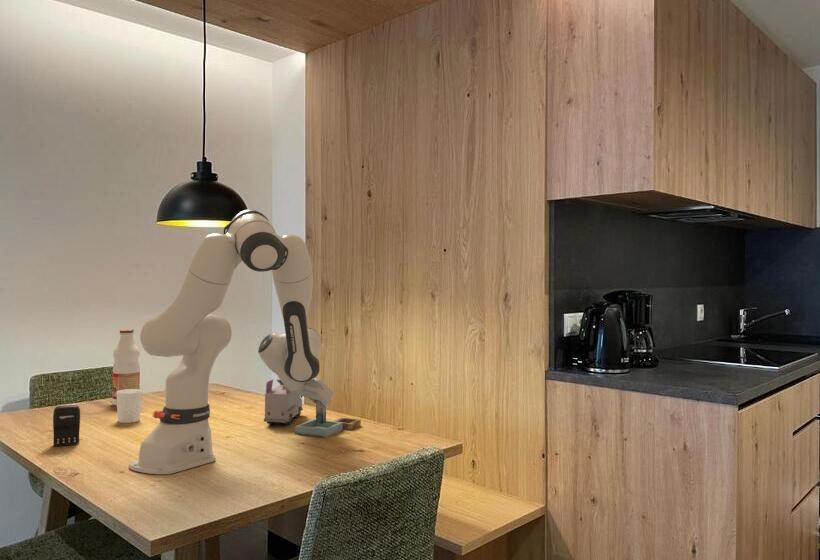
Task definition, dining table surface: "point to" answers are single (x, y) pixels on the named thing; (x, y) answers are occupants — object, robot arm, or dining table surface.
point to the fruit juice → (125, 364)
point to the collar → (349, 423)
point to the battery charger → (66, 425)
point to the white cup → (129, 405)
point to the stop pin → (320, 413)
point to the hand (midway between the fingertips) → (322, 403)
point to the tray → (319, 428)
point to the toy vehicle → (281, 404)
